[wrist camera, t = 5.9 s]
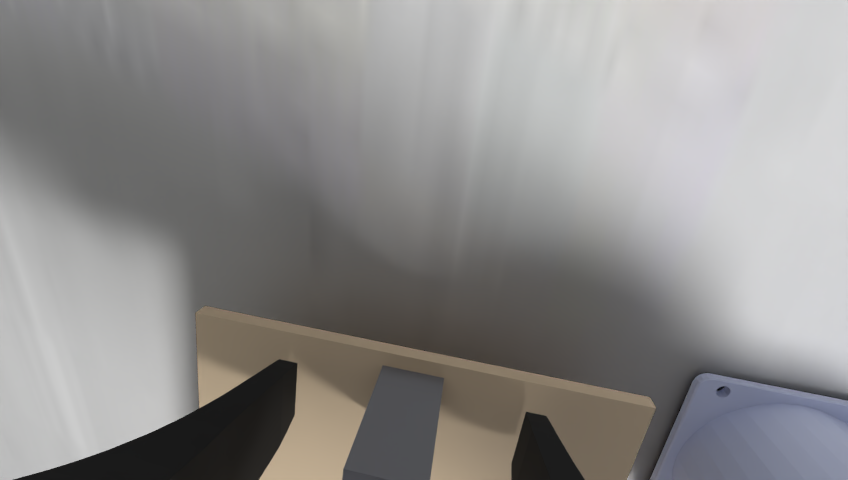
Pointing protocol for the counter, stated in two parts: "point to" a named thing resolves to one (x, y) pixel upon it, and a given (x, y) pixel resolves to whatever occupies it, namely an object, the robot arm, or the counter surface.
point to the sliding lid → (411, 406)
